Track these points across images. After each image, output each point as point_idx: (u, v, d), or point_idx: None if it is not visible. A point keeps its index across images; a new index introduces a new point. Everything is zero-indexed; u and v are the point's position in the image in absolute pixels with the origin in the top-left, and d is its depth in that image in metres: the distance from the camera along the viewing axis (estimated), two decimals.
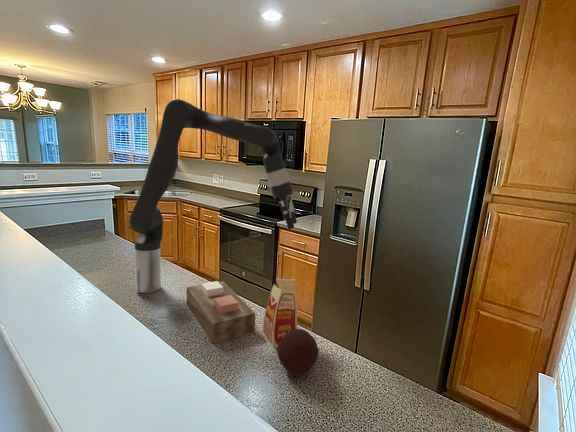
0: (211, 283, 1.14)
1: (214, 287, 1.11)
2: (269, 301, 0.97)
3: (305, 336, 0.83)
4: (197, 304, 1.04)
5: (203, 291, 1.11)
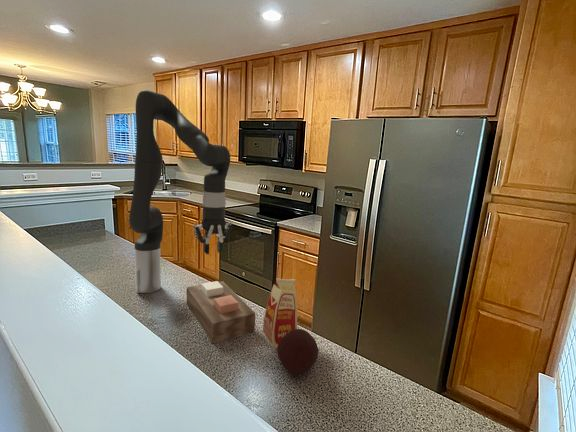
0: (211, 283, 1.14)
1: (214, 287, 1.11)
2: (269, 301, 0.97)
3: (305, 336, 0.83)
4: (197, 304, 1.04)
5: (203, 291, 1.11)
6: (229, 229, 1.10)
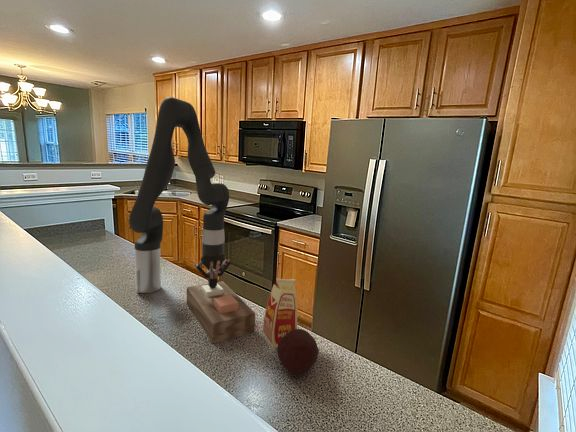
0: None
1: (214, 289, 1.11)
2: (269, 301, 0.97)
3: (305, 336, 0.83)
4: (197, 304, 1.04)
5: (203, 293, 1.11)
6: (226, 265, 1.12)
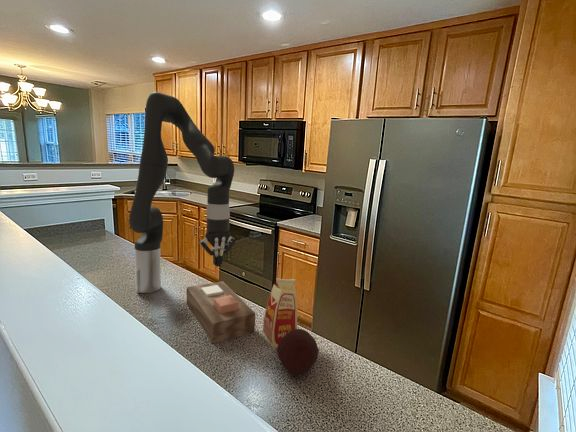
0: (211, 287, 1.14)
1: (214, 291, 1.11)
2: (269, 301, 0.97)
3: (305, 336, 0.83)
4: (197, 304, 1.04)
5: None
6: (231, 243, 1.08)
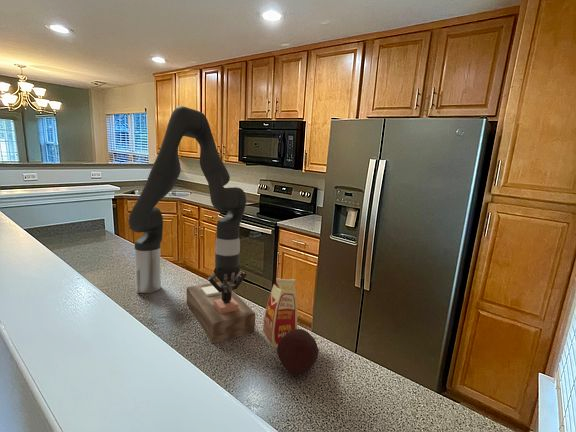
0: (211, 287, 1.14)
1: (214, 291, 1.11)
2: (269, 301, 0.97)
3: (305, 336, 0.83)
4: (197, 304, 1.04)
5: None
6: (241, 278, 1.02)
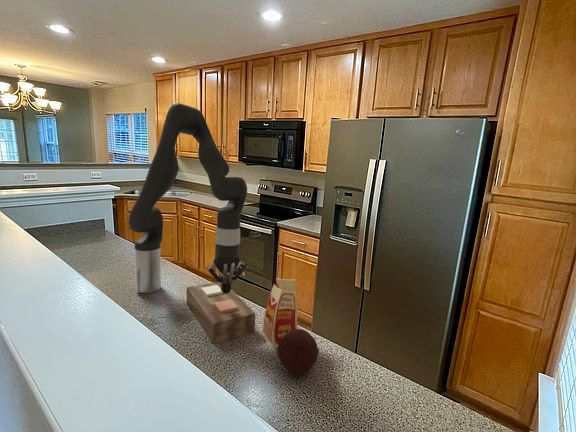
0: (211, 287, 1.14)
1: (214, 291, 1.11)
2: (269, 301, 0.97)
3: (305, 336, 0.83)
4: (197, 304, 1.04)
5: None
6: (241, 269, 1.01)
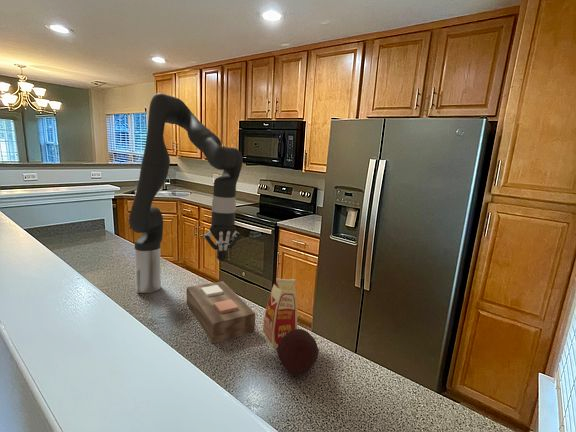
0: (211, 287, 1.14)
1: (214, 291, 1.11)
2: (269, 301, 0.97)
3: (305, 336, 0.83)
4: (197, 304, 1.04)
5: None
6: (236, 237, 1.05)
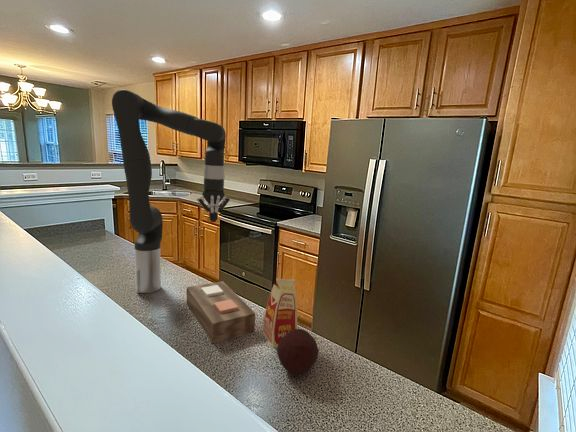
0: (211, 287, 1.14)
1: (214, 291, 1.11)
2: (269, 301, 0.97)
3: (305, 336, 0.83)
4: (197, 304, 1.04)
5: None
6: (225, 201, 1.23)
